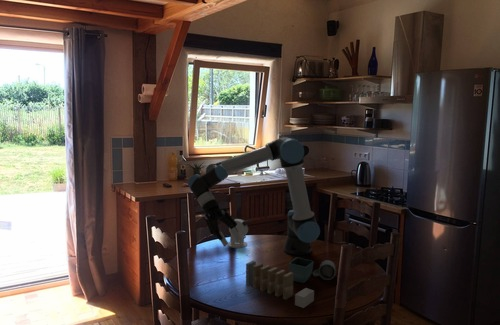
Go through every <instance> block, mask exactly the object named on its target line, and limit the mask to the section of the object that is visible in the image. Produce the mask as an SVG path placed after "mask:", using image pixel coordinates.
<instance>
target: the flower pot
mask: <svg viewBox="0 0 500 325" xmlns="http://www.w3.org/2000/svg"><path fill="white" fill-rule="evenodd" d="M314 264H315V262H314V261H313V260H310V259H306V258H303V257H295V258H294V259H292V260H291V261H290V262H289V263H288V265H289V267H288V268H289V272H292V273H293V282H297V283H301V284H304V283H306V282H307V281H308V280H309V279H310V277H311V276H312V275H313V271H314V270H313V269H314Z"/></svg>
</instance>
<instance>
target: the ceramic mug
mask: <svg viewBox="0 0 500 325" xmlns="http://www.w3.org/2000/svg"><path fill="white" fill-rule="evenodd" d="M336 270H337V269H336V265H335V263H334V262H333V261H332V260H331V259H330V260H329V259H325V260H323V261H322V262H321V263H320V264H319V268H317V269H315V270H312V275H313V277H320V278H321V279H322V280H325V281H330V280H333V279H334V278H335V276H336Z"/></svg>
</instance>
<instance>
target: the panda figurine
mask: <svg viewBox="0 0 500 325" xmlns="http://www.w3.org/2000/svg"><path fill="white" fill-rule="evenodd" d="M232 218H233V220H234V221H235V222H236V223H237V225H236V229H237V231H238V232H239V235H240V236H241V238H242V239H241V240H240V241H239V242H237V240H236V238H235V237H234V235H233V234H232V232H231V229H230V228H229V227H228V231H229V233H230V241H229V242H228V244H227V246H228V247H229V248H233V249H242V248H246V247H248V243H247V242H246V241H245V239H246V238H247V236H246V235H247V233H248V232H249V226H248V225H249V224H250V223H249V220H247V219H246V220H244V219H241V218H235V217H232Z"/></svg>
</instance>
